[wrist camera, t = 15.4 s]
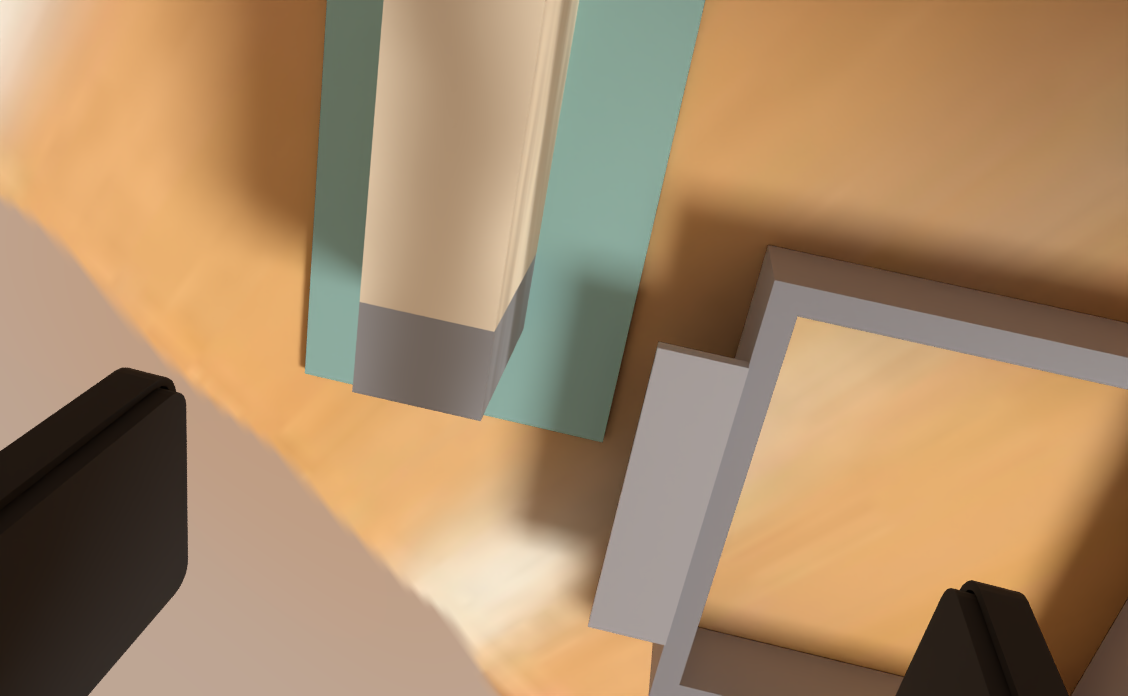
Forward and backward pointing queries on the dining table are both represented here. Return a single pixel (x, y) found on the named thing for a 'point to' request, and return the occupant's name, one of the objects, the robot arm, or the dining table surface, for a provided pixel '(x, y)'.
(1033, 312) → the open square frame
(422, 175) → the block
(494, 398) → the mat
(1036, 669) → the robot arm
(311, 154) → the dining table surface
